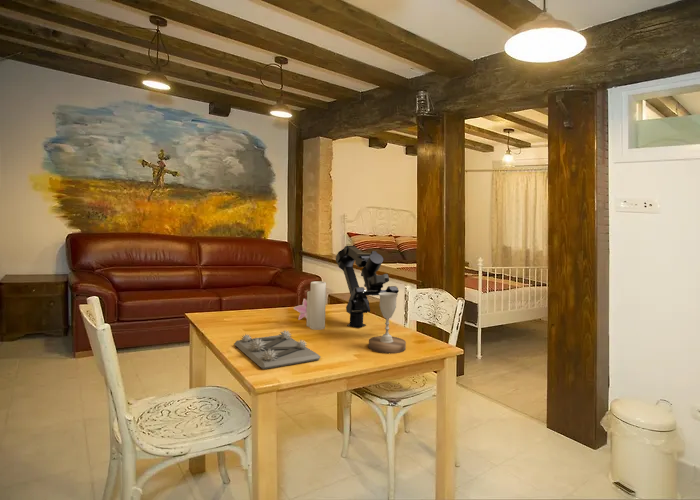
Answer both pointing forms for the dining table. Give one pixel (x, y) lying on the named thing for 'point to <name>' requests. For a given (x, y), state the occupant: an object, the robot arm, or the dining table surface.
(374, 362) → the dining table surface
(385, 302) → the chalice
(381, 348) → the walnut pedestal
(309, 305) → the vase
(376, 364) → the dining table surface
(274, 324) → the dining table surface
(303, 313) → the lily
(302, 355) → the decorative plate
